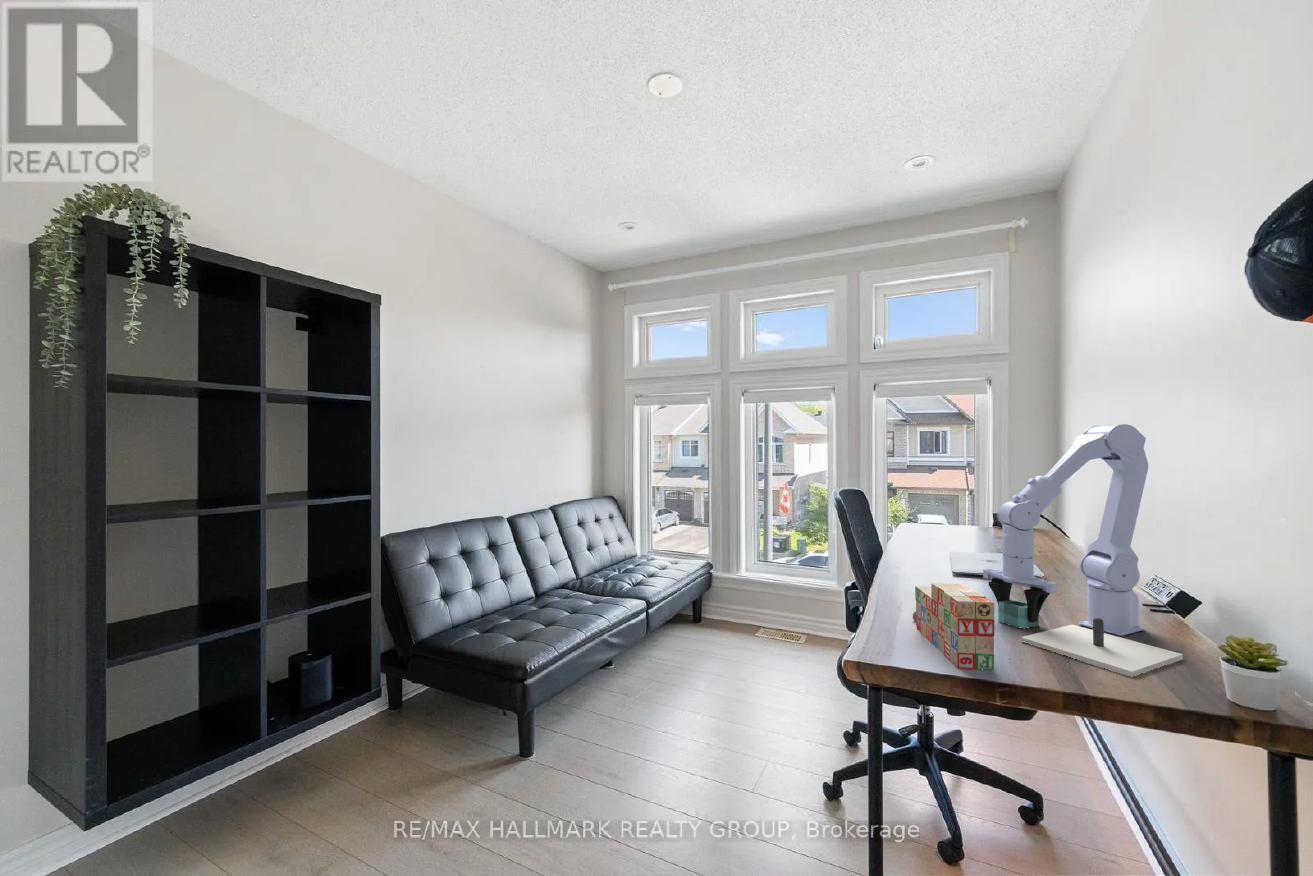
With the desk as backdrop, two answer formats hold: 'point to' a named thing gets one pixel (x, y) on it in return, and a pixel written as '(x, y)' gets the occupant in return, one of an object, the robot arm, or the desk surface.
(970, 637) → the stack of blocks
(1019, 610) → the teal hollow square tube
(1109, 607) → the robot arm
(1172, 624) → the desk surface
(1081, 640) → the white square slab
